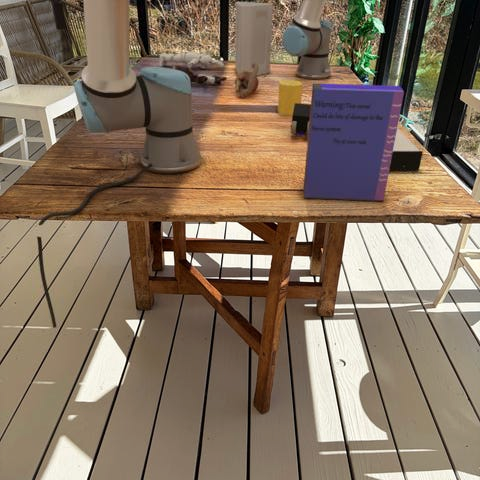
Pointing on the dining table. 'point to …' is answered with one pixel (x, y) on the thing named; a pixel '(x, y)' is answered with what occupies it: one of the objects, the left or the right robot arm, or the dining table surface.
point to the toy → (188, 59)
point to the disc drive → (405, 154)
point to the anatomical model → (247, 81)
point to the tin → (289, 96)
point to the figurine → (200, 79)
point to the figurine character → (301, 119)
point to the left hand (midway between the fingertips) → (76, 31)
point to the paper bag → (253, 36)
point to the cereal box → (351, 141)
